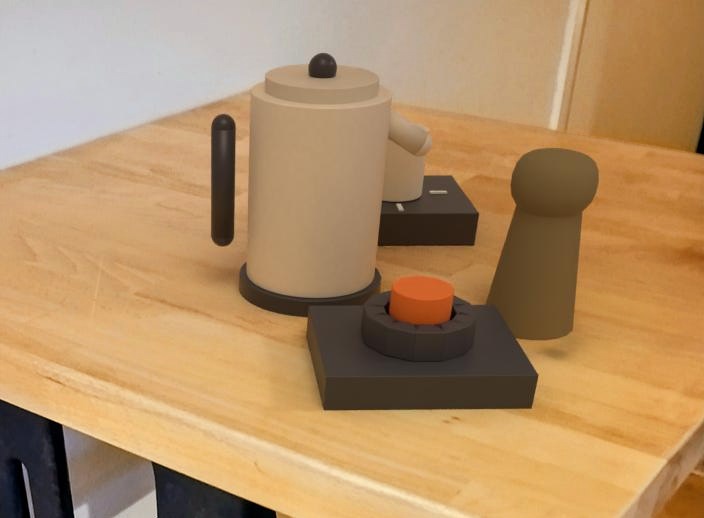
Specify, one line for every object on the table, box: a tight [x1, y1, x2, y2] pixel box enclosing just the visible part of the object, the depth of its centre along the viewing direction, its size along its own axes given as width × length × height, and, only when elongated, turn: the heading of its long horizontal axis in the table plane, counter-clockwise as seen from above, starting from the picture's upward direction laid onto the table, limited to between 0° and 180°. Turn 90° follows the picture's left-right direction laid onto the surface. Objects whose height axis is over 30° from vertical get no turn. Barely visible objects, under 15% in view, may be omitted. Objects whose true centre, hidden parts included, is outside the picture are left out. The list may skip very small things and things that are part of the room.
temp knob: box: [382, 121, 430, 202], centre depth 81 cm, size 5×5×5 cm
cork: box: [484, 147, 600, 341], centre depth 65 cm, size 6×6×11 cm
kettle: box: [210, 52, 434, 318], centre depth 68 cm, size 14×10×15 cm
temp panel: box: [377, 174, 480, 246], centre depth 83 cm, size 12×10×3 cm
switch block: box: [305, 289, 540, 412], centre depth 61 cm, size 12×10×4 cm
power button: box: [389, 275, 455, 324], centre depth 60 cm, size 4×4×2 cm
